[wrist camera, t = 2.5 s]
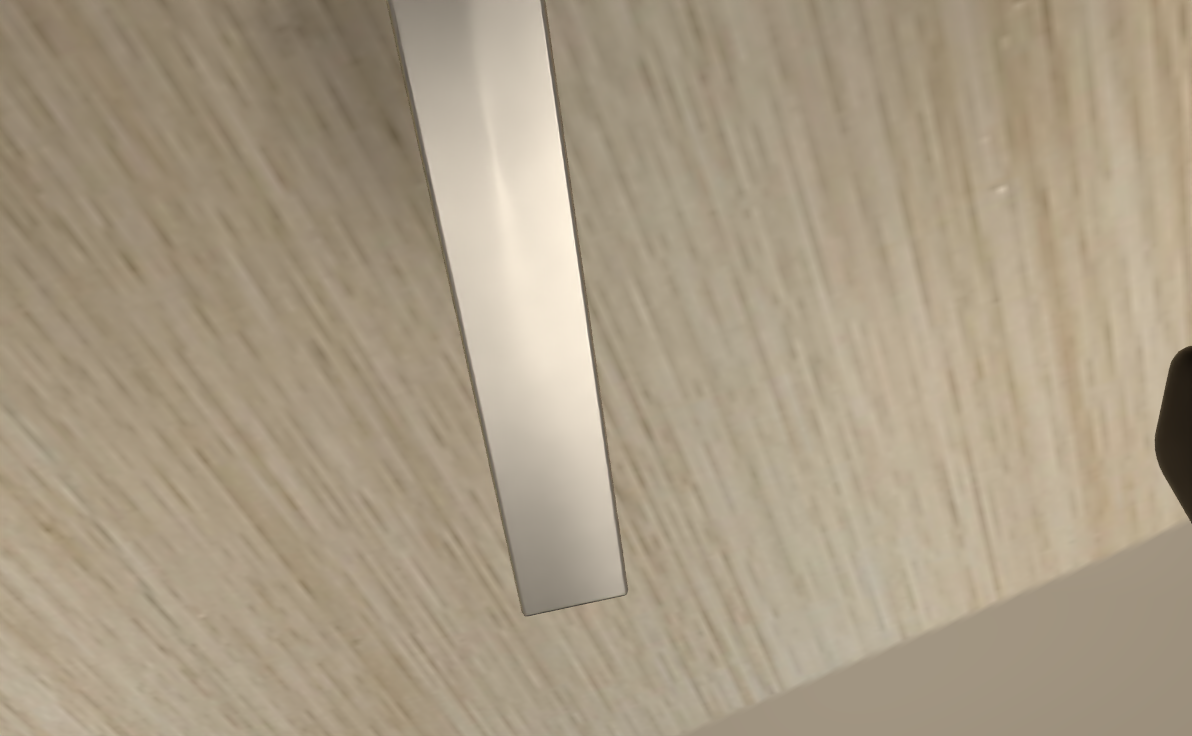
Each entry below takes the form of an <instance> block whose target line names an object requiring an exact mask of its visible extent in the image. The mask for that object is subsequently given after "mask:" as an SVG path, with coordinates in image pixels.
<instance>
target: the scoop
mask: <svg viewBox="0 0 1192 736" xmlns="http://www.w3.org/2000/svg"><path fill="white" fill-rule="evenodd" d="M386 2H387V7H388V11H389V16H390V20H391V25H392V29H393V34H394V38H395V43H396V47H397V52H398V56H399V61H400V65H401V70H402V74H403V79H404V83H405V88H406V92H407V97H408V101H409V106H410V110H411V115H412V119H413V124H414V128H415V133H416V137H417V142H418V146H419V151H420V155H421V160H422V164H423V169H424V173H425V178H426V182H427V187H428V191H429V196H430V200H431V205H432V209H433V214H434V218H435V223H436V227H437V232H438V236H439V241H440V245H441V250H442V254H443V259H444V263H445V268H446V272H447V277H448V281H449V286H450V290H451V295H452V299H453V304H454V309H455V313H456V318H457V322H458V327H459V331H460V336H461V340H462V345H463V349H464V354H465V358H466V363H467V367H468V372H469V376H470V381H471V385H472V390H473V394H474V399H475V403H476V408H477V412H478V417H479V421H480V426H481V430H482V435H483V439H484V444H485V448H486V453H487V457H488V462H489V466H490V471H491V475H492V480H493V484H494V489H495V493H496V498H497V502H498V507H499V511H500V516H501V520H502V525H503V529H504V534H505V538H506V543H507V547H508V552H509V556H510V561H511V565H512V570H513V574H514V579H515V583H516V588H517V592H518V597H519V601H520V606H521V611H522V613H523V614H524V616H531V615H536V614H541V613H545V612H550V611H555V610H559V609H564V608H569V607H573V606H578V605H583V604H587V603H592V602H597V601H601V600H606V599H611V598H615V597H620V596H625V595H626V594H627V592H628V585H627V578H626V571H625V564H624V557H623V550H622V543H621V535H620V528H619V521H618V514H617V507H616V500H615V493H614V486H613V479H612V472H611V464H610V457H609V450H608V443H607V436H606V429H605V422H604V415H603V408H602V400H601V393H600V386H599V379H598V372H597V365H596V358H595V351H594V344H593V337H592V329H591V322H590V315H589V308H588V301H587V294H586V287H585V280H584V273H583V265H582V258H581V251H580V244H579V237H578V230H577V223H576V216H575V209H574V201H573V194H572V187H571V180H570V173H569V166H568V159H567V152H566V145H565V138H564V130H563V123H562V116H561V109H560V102H559V95H558V88H557V81H556V74H555V66H554V59H553V52H552V45H551V38H550V31H549V24H548V17H547V10H546V2H545V0H386Z"/></svg>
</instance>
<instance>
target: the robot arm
mask: <svg viewBox="0 0 1192 736" xmlns="http://www.w3.org/2000/svg"><path fill="white" fill-rule="evenodd" d="M1155 451H1156V456H1157V460H1158V463H1159V466H1160V468H1161V470H1162V472H1163V475H1164V476H1165V478H1166V480H1167V481H1168V483H1169V485H1170V487H1171V488H1172V490H1173V492H1174V494H1175V495H1176V497H1177V499H1178V500H1179V502H1180V504H1181V506H1182V507H1183V509H1184V511H1185V513H1186V514H1187V516H1188V518H1189V519H1190V521H1191V523H1192V346H1189V347H1186V348H1184V349H1182V350H1181V351H1179V352H1178V353H1177V354H1176V356H1175V357H1174V358H1173V360H1172V361H1171V365H1170V368H1169V372H1168V377H1167V382H1166V386H1165V391H1164V396H1163V400H1162V405H1161V410H1160V415H1159V419H1158V424H1157V429H1156V433H1155Z"/></svg>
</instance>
